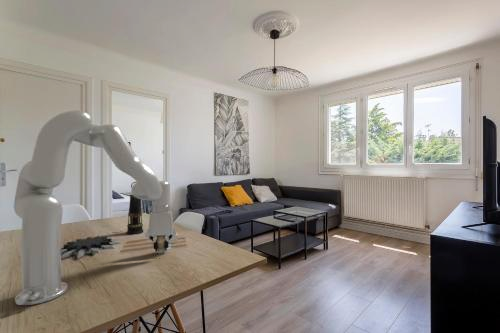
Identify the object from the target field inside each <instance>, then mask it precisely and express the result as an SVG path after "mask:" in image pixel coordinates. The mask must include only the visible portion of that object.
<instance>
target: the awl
mask: <svg viewBox="0 0 500 333" xmlns="http://www.w3.org/2000/svg"><path fill="white" fill-rule="evenodd" d="M157 249H158V250H157V254H158V255H160V254H161V255H163V254H165V252H166V251H165V235H163V236H157Z"/></svg>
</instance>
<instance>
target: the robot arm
mask: <svg viewBox="0 0 500 333" xmlns="http://www.w3.org/2000/svg"><path fill="white" fill-rule="evenodd" d="M73 142H76V143H81V144H83V145H87V146H91V147H95V148H102V149H103V150H104V151H105V152H106V154H107V156H109V158H110V160H111V161H112V163H113V165H114V167H116V168H117V169H118V170H120V171H121V172H122V173H124V174H126V175H128V176H130V177H131V178H132V179H133V180H135V182H137V183H133V184H132V188H131V189H130V190H131V191H130V192H131V195H132V194H133V196H134V197H136V198H138V199H141V200H144V201H146V200H147V201H151V206H148V211H151V212H150V213H149V218H148V229H147V231H146V233H145V235H144V237H145V238H146V239H151V240H152V241H153V242H154V249H155V250H154V251H155V252H157V253H158V250H157V240H156V238H157V236H163V235H165V236H166V240H165V252H167V251H168V249H167V248H168V241H169V240H170V239H171V238H172V237H173V236H175V235H176V234H177V235H178V231H176V228H175V227H174V219H173V212H172V211H171V184H170V182H169V181H168V180H159V179H158V177H157V176H156V174H155V173H154V172H153V170H152V169H151V168H150V167H149V166H148V165H146V164H145V163H144V162H143V161H142V160H141V159H140V158H139V157H138V156H137V154H136V153H135V151H134V149H133V148H132V147H131V145H130V143H129V141H128V139H127V138H126V136H125V134H124V133H123V131H122V129H120V128H119V127H118V126H117V125H115V124H111V123H110V124H109V123H108V124H102V125H97V124H94V123H93V118H92V117H91V116H90V114H88V112H85V111H83V110H69V111H65V112H61V113H59V114H57V115H55V116H53V117H52V118H51V119H49V120H48V121H47V122H46V123H45V124H44V125H43V126H42V128H41V129H40V130H39V133H38V135H37V137H36V141H35V146H34V149H33V153H32V158H31V160H30V161H28V162H27V163H25V164H24V165H23V167H21V170H20V172H19V175H18V180H17V185H16V188H15V189H16V190H15V196H14V202H13V210H14V213H15V214H16V216H17V217H18V218H20V219H21V221H22V222H21V231H20V232H21V234H20V248H21V249H20V254H21V255H20V256H21V257H20V258H21V260H20V262H21V264H20V265H21V291H20V292H19V293H18V294H17V295H16V296H15V297H14V303H15V304H16V305H18V306H32V305H37V304H42V303H45V302H48V301H52V300H54V299H55V298H58V297H60V296H62V295H63V294H64V293H65V292H66V291H68V283H66V282H63V281H62V259H61V247H62V242H61V241H62V238H61V236H62V222H63V213H64V212H63V211H64V210H63V209H64V208H63V204H62V202H61V200H60V199H59V198H58V197H56V195H53V190H54V188H57V187H58V186H60V185H61V184H62V183H63V181H64V178H65V174H66V173H65V172H66V167H67V161H68V155H69V150H70V147H71V145H72V143H73Z"/></svg>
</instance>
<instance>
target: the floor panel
mask: <svg viewBox="0 0 500 333" xmlns="http://www.w3.org/2000/svg"><path fill="white" fill-rule="evenodd" d="M156 240H157V238H156ZM125 241H126V242H125V243H124V245H123V246H122V248H121V249H120V251H119V252H118V255H119V254H120V255H121V254H130V253H139V252H150V251H155V249H154V242H153V241H152V240H151V239H149V238H140V239H128V240H125ZM181 248H182V249H183V248H187V240H186V235H177V243H171V244H168V248H167V250H170V249H171V250H172V249H181ZM157 251H158V249H157Z"/></svg>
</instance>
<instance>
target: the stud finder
mask: <svg viewBox="0 0 500 333" xmlns="http://www.w3.org/2000/svg"><path fill="white" fill-rule="evenodd" d="M177 236H178V233H177V234H176V235H175V236H173V237H172V238H171V239H170V240H169V241H168V244H171V243H177ZM165 240H166V236H165Z"/></svg>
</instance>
